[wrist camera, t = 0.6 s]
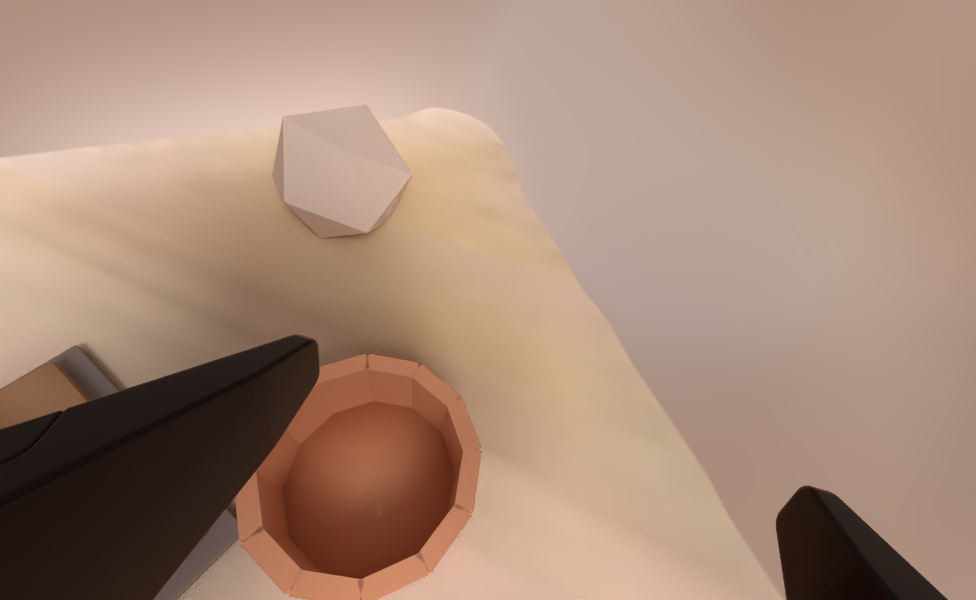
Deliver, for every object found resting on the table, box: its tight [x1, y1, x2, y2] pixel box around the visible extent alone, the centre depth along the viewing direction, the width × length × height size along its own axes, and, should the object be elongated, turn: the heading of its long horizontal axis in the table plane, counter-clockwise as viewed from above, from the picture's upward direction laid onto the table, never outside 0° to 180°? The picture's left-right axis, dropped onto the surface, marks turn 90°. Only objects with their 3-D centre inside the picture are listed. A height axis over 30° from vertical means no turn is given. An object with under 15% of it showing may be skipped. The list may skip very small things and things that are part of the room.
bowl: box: [235, 353, 481, 600], centre depth 19 cm, size 10×10×5 cm
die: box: [273, 105, 412, 238], centre depth 28 cm, size 8×9×10 cm
